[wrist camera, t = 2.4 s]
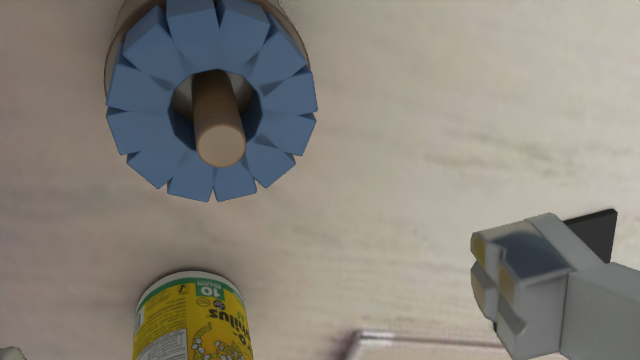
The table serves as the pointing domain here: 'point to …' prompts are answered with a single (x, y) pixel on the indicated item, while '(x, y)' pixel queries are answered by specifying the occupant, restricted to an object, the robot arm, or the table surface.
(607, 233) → the mat
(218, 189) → the ring
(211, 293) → the supplement bottle
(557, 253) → the robot arm
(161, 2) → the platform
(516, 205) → the table surface
